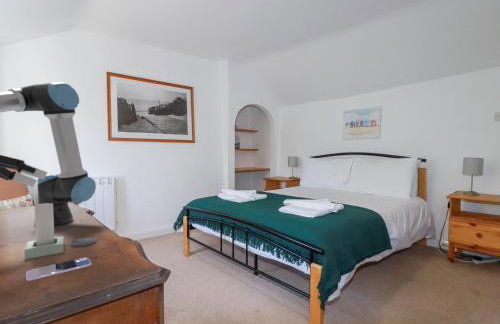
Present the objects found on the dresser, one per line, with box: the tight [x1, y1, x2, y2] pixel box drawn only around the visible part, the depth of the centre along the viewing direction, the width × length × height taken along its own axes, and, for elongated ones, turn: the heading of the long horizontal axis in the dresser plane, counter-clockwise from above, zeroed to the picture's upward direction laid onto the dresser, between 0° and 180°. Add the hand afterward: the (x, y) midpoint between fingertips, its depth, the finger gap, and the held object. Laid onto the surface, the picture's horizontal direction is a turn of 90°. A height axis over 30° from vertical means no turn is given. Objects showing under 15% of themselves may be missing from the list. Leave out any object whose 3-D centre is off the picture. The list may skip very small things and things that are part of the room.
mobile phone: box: [25, 256, 92, 281], centre depth 78 cm, size 8×1×15 cm
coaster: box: [70, 237, 97, 248], centre depth 100 cm, size 8×8×1 cm
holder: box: [24, 235, 65, 260], centre depth 92 cm, size 10×10×3 cm
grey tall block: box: [34, 203, 55, 246], centre depth 92 cm, size 5×5×16 cm
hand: (40, 179), depth 97 cm, fingers open, 13 cm apart
